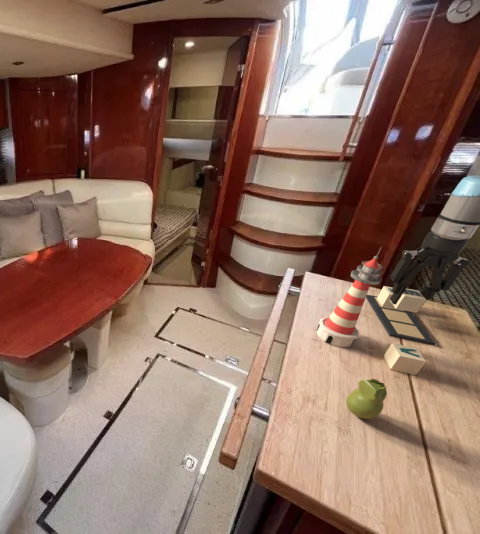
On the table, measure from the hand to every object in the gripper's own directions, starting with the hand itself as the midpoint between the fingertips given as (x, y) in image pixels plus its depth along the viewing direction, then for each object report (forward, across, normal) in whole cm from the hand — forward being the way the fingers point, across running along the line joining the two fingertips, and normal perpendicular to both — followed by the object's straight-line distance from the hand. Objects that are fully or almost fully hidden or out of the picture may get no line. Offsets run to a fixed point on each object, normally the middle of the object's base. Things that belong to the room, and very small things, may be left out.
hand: (404, 303), depth 94 cm
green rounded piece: (+6, -21, -45) cm, 50 cm away
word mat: (+6, 0, 0) cm, 6 cm away
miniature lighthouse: (+6, -20, -18) cm, 27 cm away
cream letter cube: (+6, -7, -24) cm, 26 cm away
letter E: (+1, 0, 0) cm, 1 cm away
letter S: (+5, 0, +7) cm, 8 cm away
